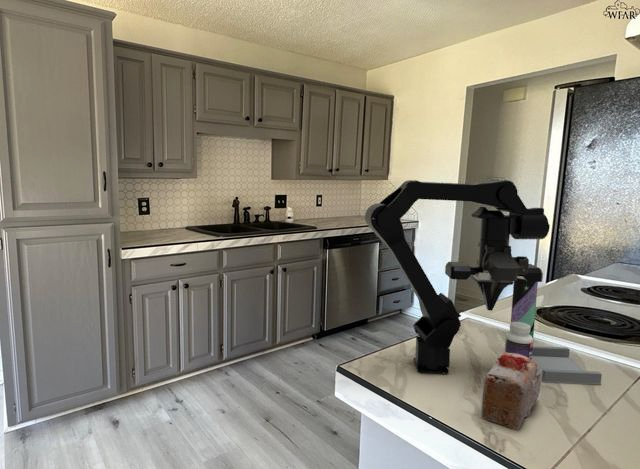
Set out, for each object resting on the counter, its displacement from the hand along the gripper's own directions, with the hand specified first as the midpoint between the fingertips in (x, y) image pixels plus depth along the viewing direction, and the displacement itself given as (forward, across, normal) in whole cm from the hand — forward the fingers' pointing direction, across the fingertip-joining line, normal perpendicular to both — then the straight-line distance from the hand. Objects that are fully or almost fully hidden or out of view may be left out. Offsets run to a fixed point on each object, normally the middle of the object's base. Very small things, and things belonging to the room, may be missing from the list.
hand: (489, 310), depth 87 cm
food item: (+13, -1, -17) cm, 21 cm away
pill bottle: (+13, +7, 0) cm, 15 cm away
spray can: (+13, +15, +17) cm, 26 cm away
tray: (+13, +15, 0) cm, 20 cm away
